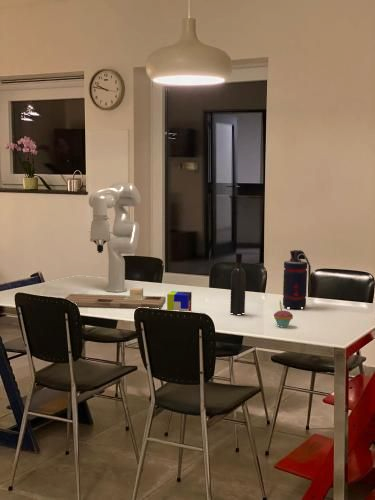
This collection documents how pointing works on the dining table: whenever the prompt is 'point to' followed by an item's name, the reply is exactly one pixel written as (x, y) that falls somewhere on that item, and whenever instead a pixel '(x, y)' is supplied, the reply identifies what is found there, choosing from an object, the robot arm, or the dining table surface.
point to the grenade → (296, 280)
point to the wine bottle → (238, 287)
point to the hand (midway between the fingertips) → (100, 252)
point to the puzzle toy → (179, 301)
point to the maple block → (136, 293)
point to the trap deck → (116, 301)
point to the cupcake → (283, 317)
